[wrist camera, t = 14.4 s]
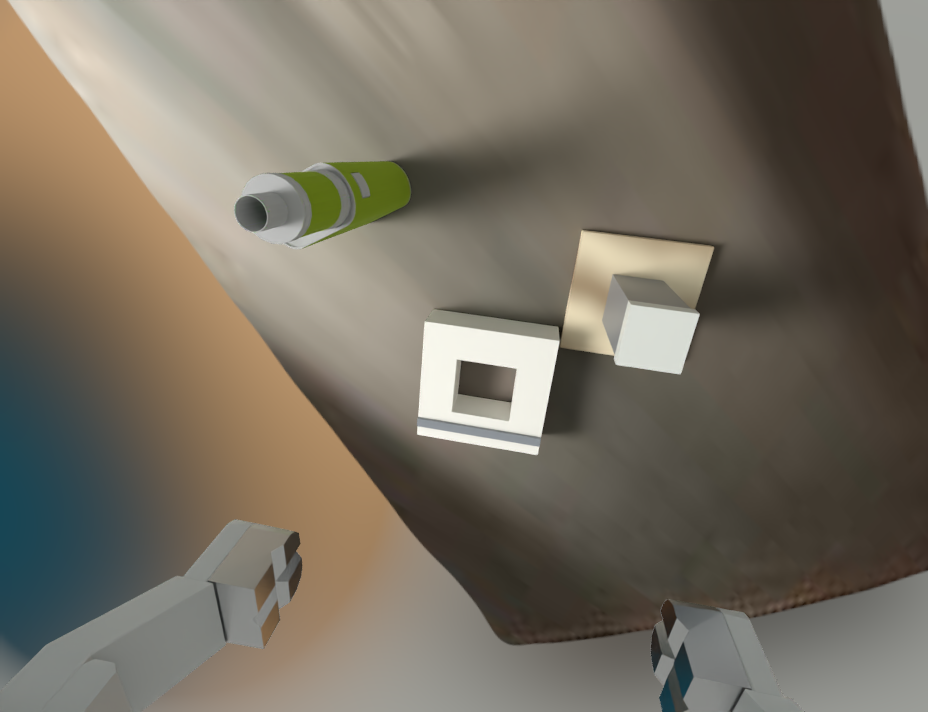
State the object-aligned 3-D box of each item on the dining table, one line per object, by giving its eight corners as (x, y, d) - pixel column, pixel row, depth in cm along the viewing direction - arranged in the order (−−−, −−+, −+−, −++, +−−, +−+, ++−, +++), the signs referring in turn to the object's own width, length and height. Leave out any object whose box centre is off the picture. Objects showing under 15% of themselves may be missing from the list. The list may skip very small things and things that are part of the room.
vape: (419, 198, 38) (309, 235, 20) (359, 228, 40) (207, 286, 22) (399, 153, 37) (263, 150, 19) (337, 186, 39) (160, 211, 21)
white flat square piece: (433, 309, 42) (424, 322, 39) (558, 326, 41) (559, 342, 37) (425, 415, 47) (416, 436, 43) (537, 434, 45) (537, 457, 42)
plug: (611, 272, 38) (631, 304, 29) (665, 279, 37) (699, 314, 29) (600, 321, 39) (615, 364, 31) (651, 328, 39) (680, 374, 31)
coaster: (581, 229, 37) (582, 231, 37) (710, 245, 36) (714, 247, 36) (559, 344, 42) (559, 347, 41) (675, 361, 40) (677, 364, 40)
